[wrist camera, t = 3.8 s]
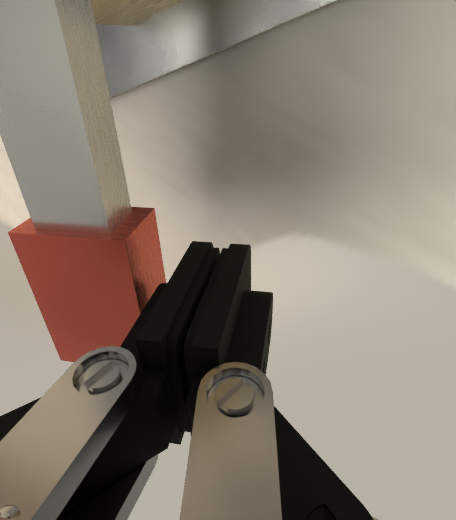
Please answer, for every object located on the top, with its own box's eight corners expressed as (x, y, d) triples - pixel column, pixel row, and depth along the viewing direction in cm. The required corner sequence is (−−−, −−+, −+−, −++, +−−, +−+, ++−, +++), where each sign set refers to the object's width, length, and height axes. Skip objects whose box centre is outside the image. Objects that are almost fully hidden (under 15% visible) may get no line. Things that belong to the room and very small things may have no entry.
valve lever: (-154, -449, 5) (-367, -672, 3) (41, -521, 4) (-108, -826, 3) (91, 320, 12) (60, 360, 11) (173, 330, 12) (153, 373, 10)
